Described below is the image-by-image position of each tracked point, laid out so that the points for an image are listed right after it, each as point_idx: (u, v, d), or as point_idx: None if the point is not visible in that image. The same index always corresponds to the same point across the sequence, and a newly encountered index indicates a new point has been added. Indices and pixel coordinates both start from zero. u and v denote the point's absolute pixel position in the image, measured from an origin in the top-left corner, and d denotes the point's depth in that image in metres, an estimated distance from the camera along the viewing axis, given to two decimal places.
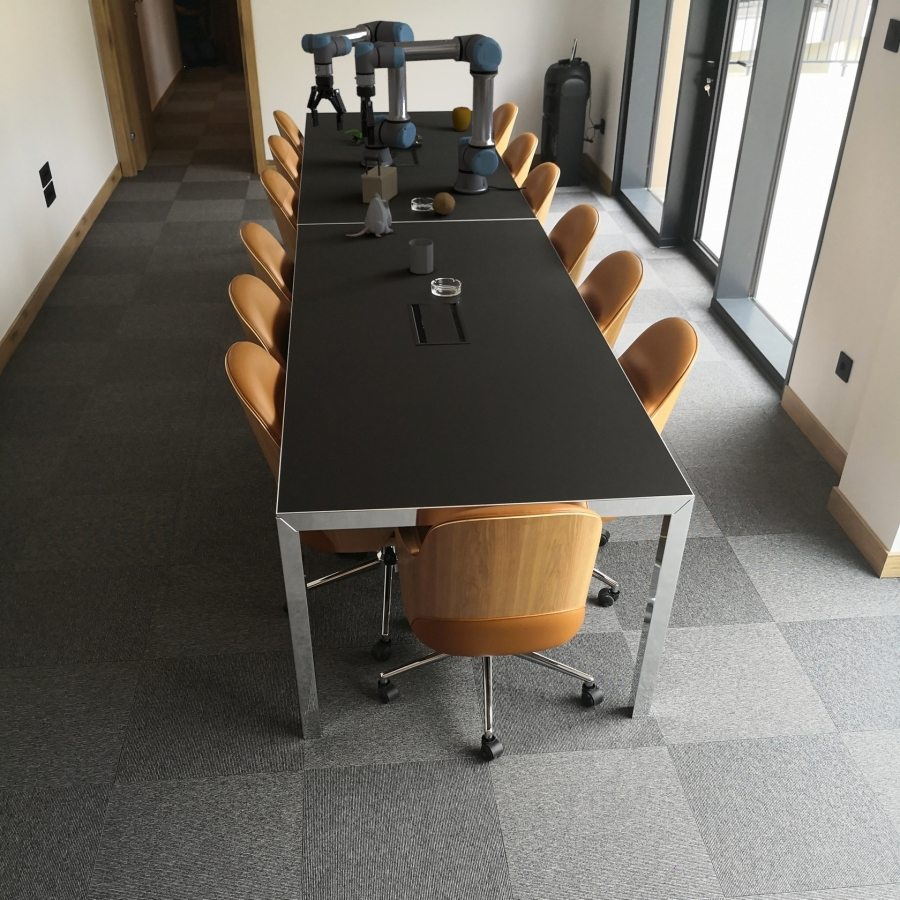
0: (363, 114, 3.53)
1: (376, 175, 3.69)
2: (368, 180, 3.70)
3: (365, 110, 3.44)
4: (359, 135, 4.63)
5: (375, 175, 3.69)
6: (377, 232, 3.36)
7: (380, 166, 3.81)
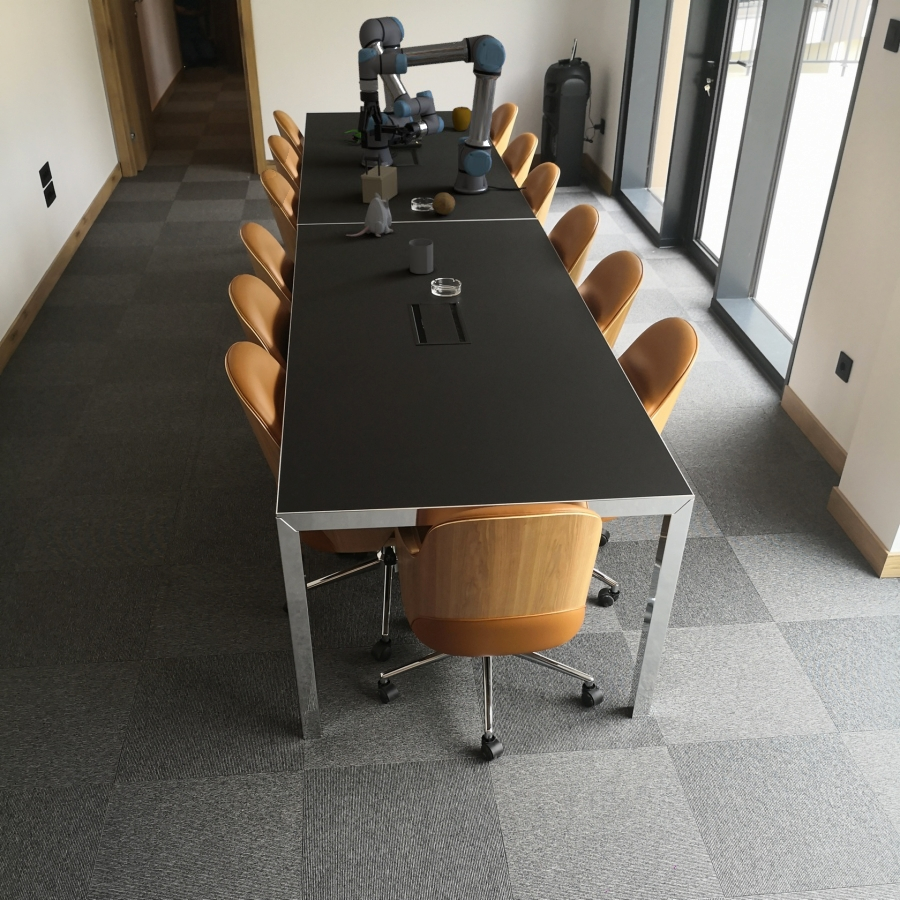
0: (374, 118, 3.62)
1: (376, 175, 3.69)
2: (368, 180, 3.70)
3: None
4: (359, 135, 4.63)
5: (375, 175, 3.69)
6: (377, 232, 3.36)
7: (380, 166, 3.81)
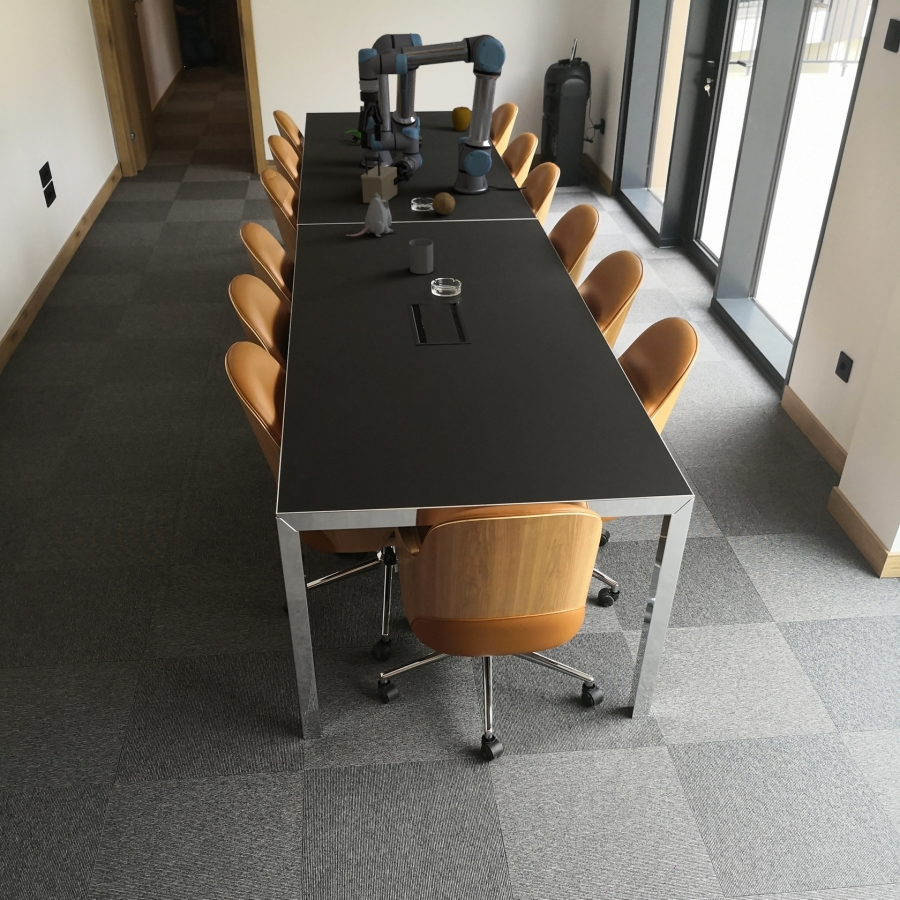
0: (374, 118, 3.62)
1: (376, 175, 3.69)
2: (368, 180, 3.70)
3: None
4: (359, 135, 4.63)
5: (375, 175, 3.69)
6: (377, 232, 3.36)
7: (380, 166, 3.81)
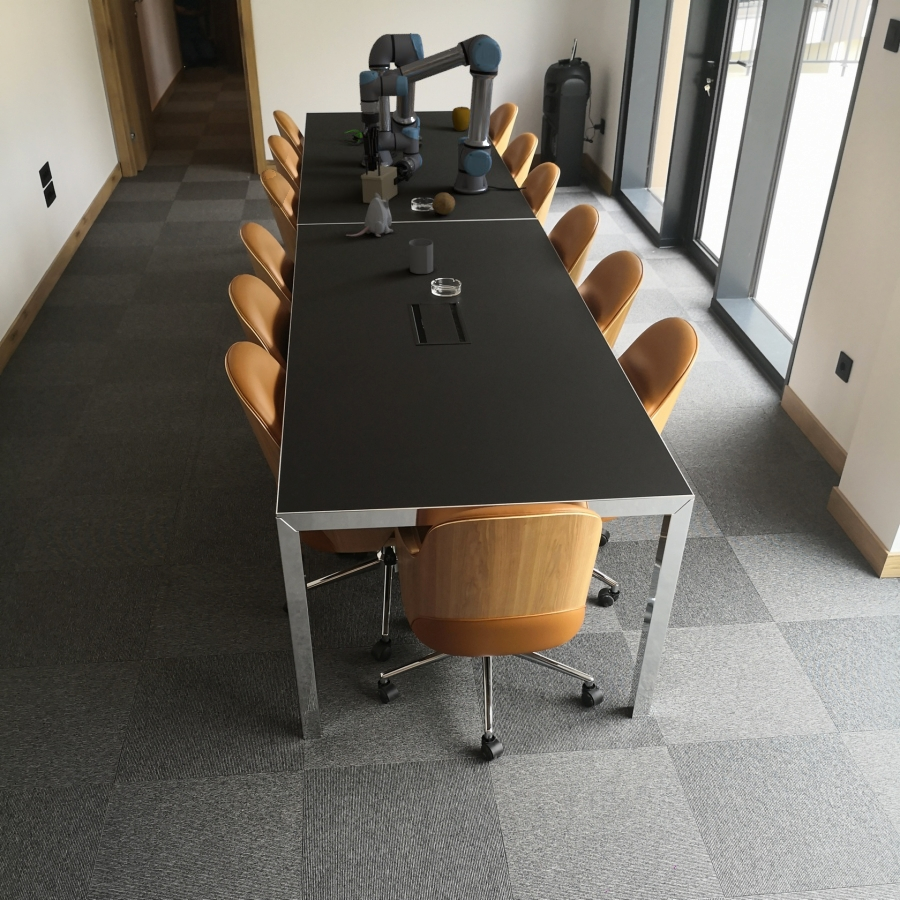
0: None
1: (376, 175, 3.69)
2: (368, 180, 3.70)
3: None
4: (359, 135, 4.63)
5: (375, 175, 3.69)
6: (377, 232, 3.36)
7: (380, 166, 3.81)
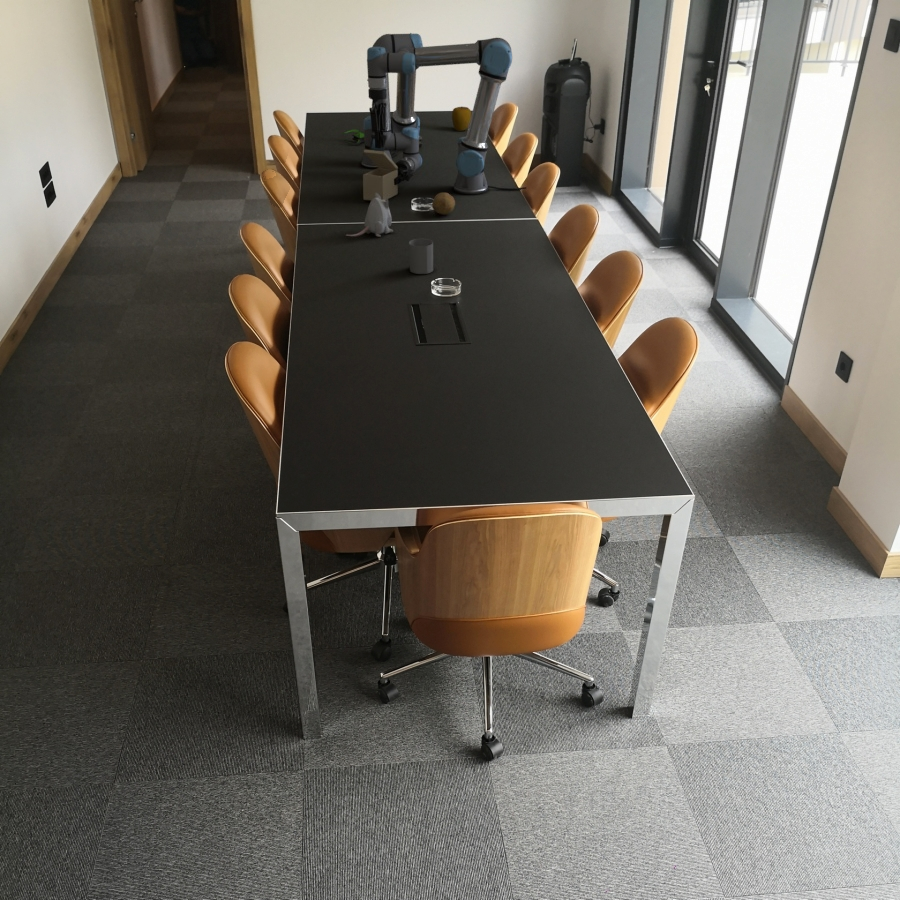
0: None
1: None
2: (369, 177, 3.70)
3: None
4: (359, 135, 4.63)
5: None
6: (377, 232, 3.36)
7: None
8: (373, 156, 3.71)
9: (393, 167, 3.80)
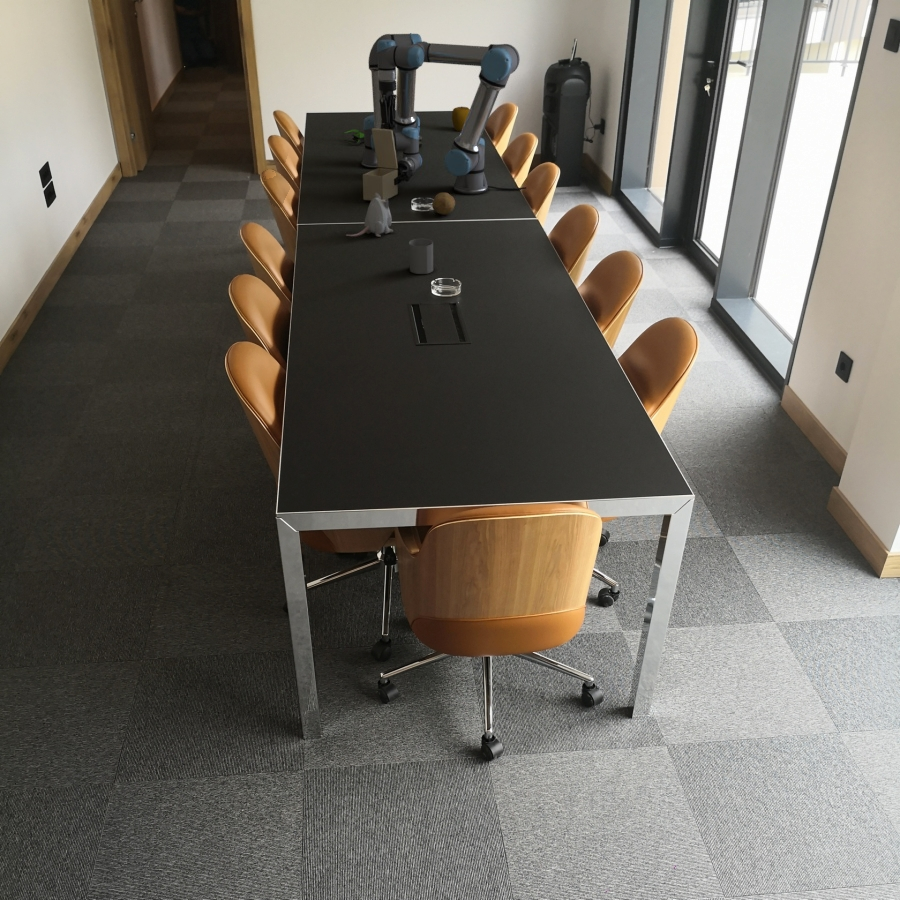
0: None
1: None
2: (369, 177, 3.70)
3: None
4: (359, 135, 4.63)
5: None
6: (377, 232, 3.36)
7: None
8: (378, 140, 3.73)
9: (394, 164, 3.80)
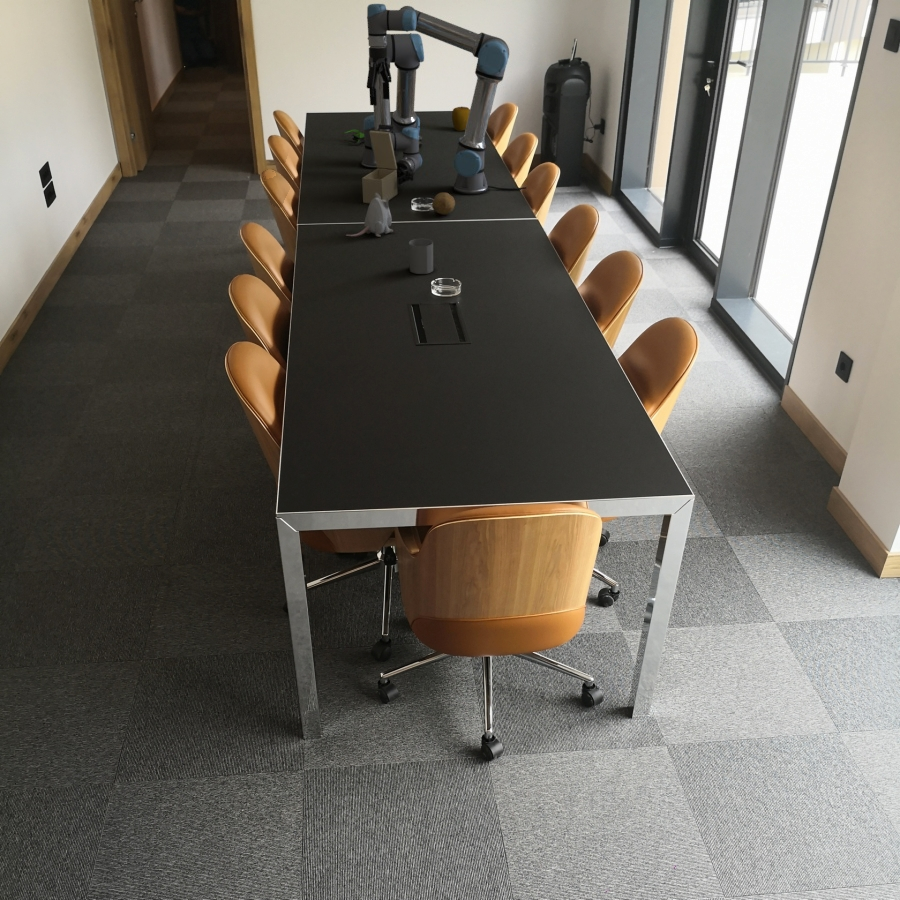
0: (382, 76, 3.63)
1: None
2: (368, 180, 3.70)
3: None
4: (359, 135, 4.63)
5: None
6: (377, 232, 3.36)
7: None
8: (377, 142, 3.72)
9: (393, 165, 3.79)
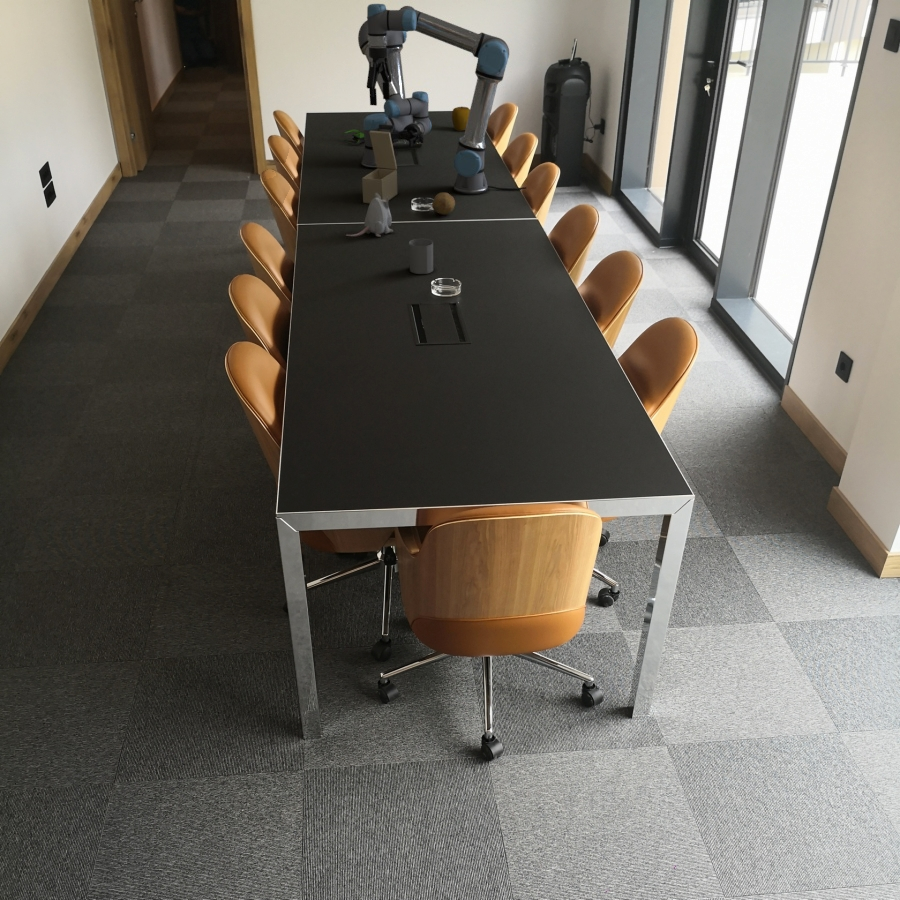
0: (382, 76, 3.63)
1: None
2: (368, 180, 3.70)
3: None
4: (359, 135, 4.63)
5: None
6: (377, 232, 3.36)
7: None
8: (377, 142, 3.72)
9: (393, 165, 3.79)
